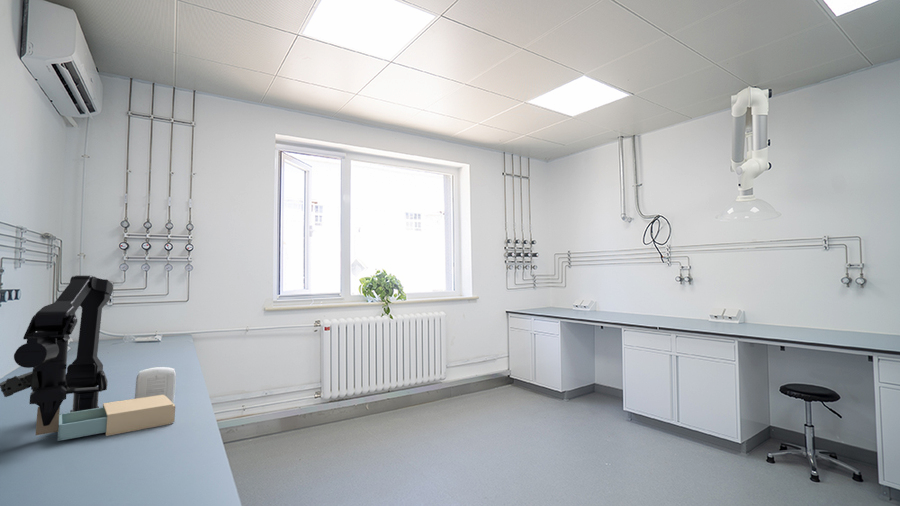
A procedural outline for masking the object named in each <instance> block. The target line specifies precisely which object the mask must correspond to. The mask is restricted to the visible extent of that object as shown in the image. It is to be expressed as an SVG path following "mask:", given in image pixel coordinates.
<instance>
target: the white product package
mask: <svg viewBox="0 0 900 506" xmlns="http://www.w3.org/2000/svg"><path fill="white" fill-rule="evenodd" d="M176 374H177V373H176V371H175V368H172V367H168V366H157V367H150V368H145V369H142V370H140V371H138V374H137V375H136V379H135V388H134V389H135V391H134V399H136V398H143V397H150V396H157V395H164V396H166V397H167V398H168V399H169V400H170V401H171V402H172V403H173V404H174V405H175V398H176V397H175V395H176V384H177V383H176V381H177V375H176Z"/></svg>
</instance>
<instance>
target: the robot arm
mask: <svg viewBox="0 0 900 506" xmlns="http://www.w3.org/2000/svg"><path fill="white" fill-rule="evenodd" d="M113 292H114V283H112V282H111V281H110V280H109V279H105V278H103V279H102V278H98V277H96V276H93V275H74V276H73V275H72V276H71V277H70V280H69V283H68V285H67V286H66V287H65V288H64V290H63V291H62V292H61V294H60V295H59V296H58V297H57V298H56V300H55V301H54V302H53V303H50V304H47V305H44V306H43V307H41V308H40V309H38V310H37V312H36V313H35V315H33V316H32V317H31V319H30V322H29V324H28V326H27V328H26V331H25V333H24V336H23V338H22V339H23V340H26V343H24V344H21V345H20V346H18V348H17V349H16V351H15V352H14V355H13V360H14V362H15V363H16V364H17V365H18V366H19V367H22V368H25V369H31V368H32V371H30V372H27V373H24V374H20V375H18V376H17V375H14V376H12V377H10V378H7V379H6V380H4V381H1V382H0V392H1V393H2V395H3V396H4V398H8V397H10V396H13V395H14V394H16V393H19V392H22V391H24V390H27V389H29V388H30V390H31V392H30V395H29V405H36V406H37V407H39V408H40V412H41V417H42V422H43V426H48V425H50V423H51V421H52V419H53V418H54V416H55V414H56V412H57V411H58V409H59V407H61V405H62V403H63V402H64V400H66V399H67V395H69V394H73V395H72V409H70V410H69V413H70V412H76V411H83V410H89V409H96V408H100V406H99V392H100V393H101V392H104V391H106V390H108V379H107V375H106V374H105V372H104V371H105V370H104V365H103V363H102V361H101V360H100V359H99V357H98V350H99V342H100V332H101V323H102V322H101V320H102V314H103V312H102V311H103V308H104V307H105V306H106V305H107V303H108V302H110V299H111V295H112V294H113ZM80 307H81V314H80V316H81V317H80V324H79V332H78V333H79V334H78V341H77V350H76V352H77V353H76V357H75V359H74V360H73V361H72V362H71V363H70V364H67V361H68V360H67V359H68V349H69V348H68V347H69V346H68V345H69V341H70V335H72V333H73V331H74V329H75V327H76V325H77V324H78V317H77V315H76V311H77V310H78V309H79V308H80ZM67 365H68V366H67Z"/></svg>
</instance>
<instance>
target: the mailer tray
mask: <svg viewBox="0 0 900 506" xmlns="http://www.w3.org/2000/svg"><path fill="white" fill-rule="evenodd" d="M60 407H61V406H60ZM60 407H59V409H58V411H57V412H56V414H55V416H54V418H53V419H52V421H51V423H50V425H48V426H43V422H42V417H41V412H40V408H39V406H37V410H36V411H37V412H36V424H35V436H41V435H42V436H43V435H47V434H53V433H57V441H58V442H59V441H65V440H71V439H77V438H81V437H87V436H92V435H98V434H103V433H105V432H106V427H107V414H106V412H105V409H104V407H103V406H102V407H99V408H96V409H89V410H83V411H76V412H70V411H69V412H65V413H60V410H61V408H60Z"/></svg>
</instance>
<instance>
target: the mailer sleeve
mask: <svg viewBox="0 0 900 506" xmlns="http://www.w3.org/2000/svg"><path fill="white" fill-rule="evenodd" d="M103 407H104V409H105V412H106V414H107V427H106V432H104V433H105V436H106V437H108V436H113V435H118V434H124V433H130V432H134V431H140V430H145V429H150V428H156V427H160V426H161V427H162V426H167V425H171V424H173V423H174V422H175V417H176V405H175V403H174V404H173V403H172V402H171V401H170V400H169V399H168V398H167V397H166V396H164V395H157V396H150V397H143V398H136V399H135V398H129V399H124V400H117V401H111V402H103V403H102V408H103Z"/></svg>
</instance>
